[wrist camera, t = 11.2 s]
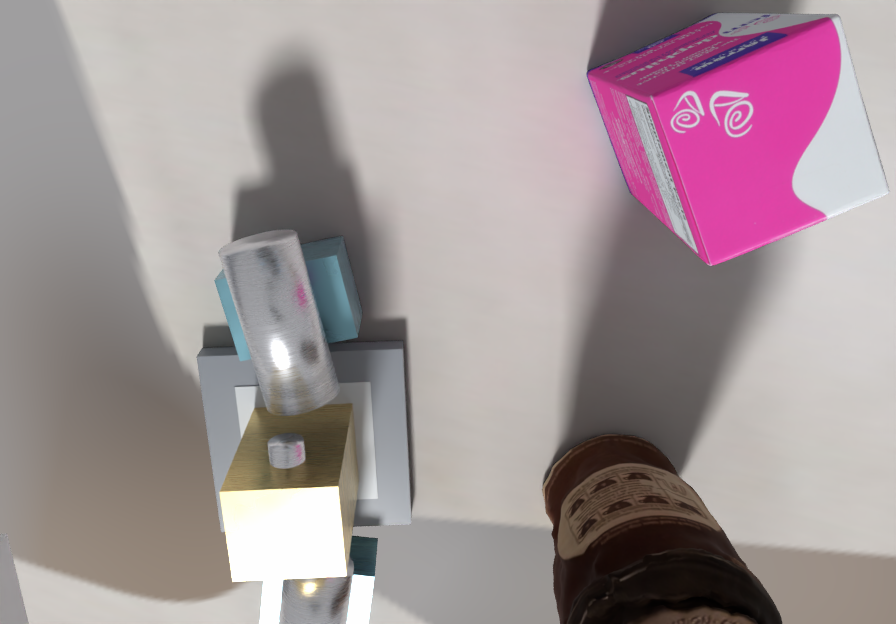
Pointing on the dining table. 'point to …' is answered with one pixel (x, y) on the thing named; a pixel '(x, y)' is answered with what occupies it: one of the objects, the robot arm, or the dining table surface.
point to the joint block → (292, 495)
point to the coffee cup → (642, 543)
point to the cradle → (361, 382)
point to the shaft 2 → (325, 593)
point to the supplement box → (742, 129)
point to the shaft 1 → (289, 314)
